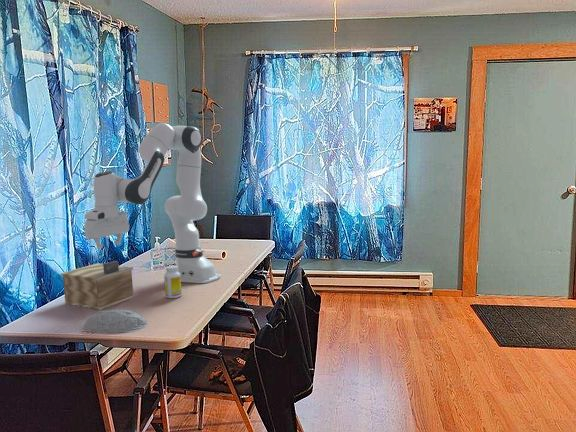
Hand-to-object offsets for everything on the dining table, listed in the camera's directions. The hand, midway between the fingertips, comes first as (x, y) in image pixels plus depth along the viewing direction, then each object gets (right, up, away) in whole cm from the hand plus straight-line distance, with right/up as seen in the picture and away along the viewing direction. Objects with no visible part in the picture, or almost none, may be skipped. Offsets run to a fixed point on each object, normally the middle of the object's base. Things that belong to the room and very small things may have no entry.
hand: (109, 246), depth 215 cm
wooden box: (-6, -23, +7) cm, 25 cm away
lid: (-7, -11, +6) cm, 14 cm away
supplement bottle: (+24, -22, +10) cm, 34 cm away
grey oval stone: (+10, -28, -23) cm, 37 cm away
